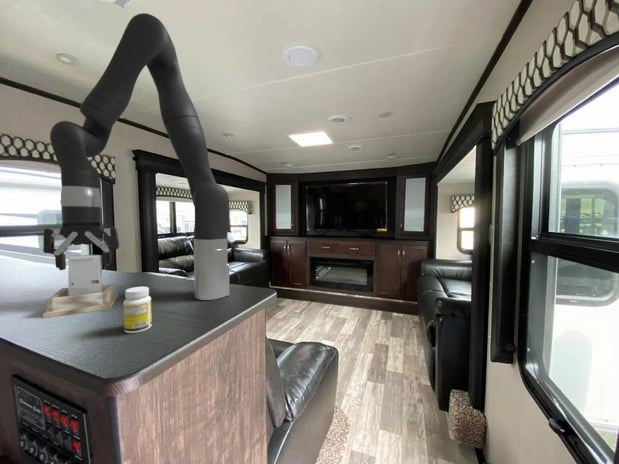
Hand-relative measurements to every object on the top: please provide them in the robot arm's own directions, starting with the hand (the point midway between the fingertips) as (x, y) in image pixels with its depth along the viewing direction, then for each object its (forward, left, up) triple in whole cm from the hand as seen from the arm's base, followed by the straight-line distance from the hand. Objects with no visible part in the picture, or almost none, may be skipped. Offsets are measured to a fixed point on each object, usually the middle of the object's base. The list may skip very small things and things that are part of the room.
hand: (85, 267), depth 64 cm
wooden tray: (0, 0, -10) cm, 10 cm away
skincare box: (0, 0, -9) cm, 9 cm away
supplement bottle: (-13, +23, -10) cm, 28 cm away
